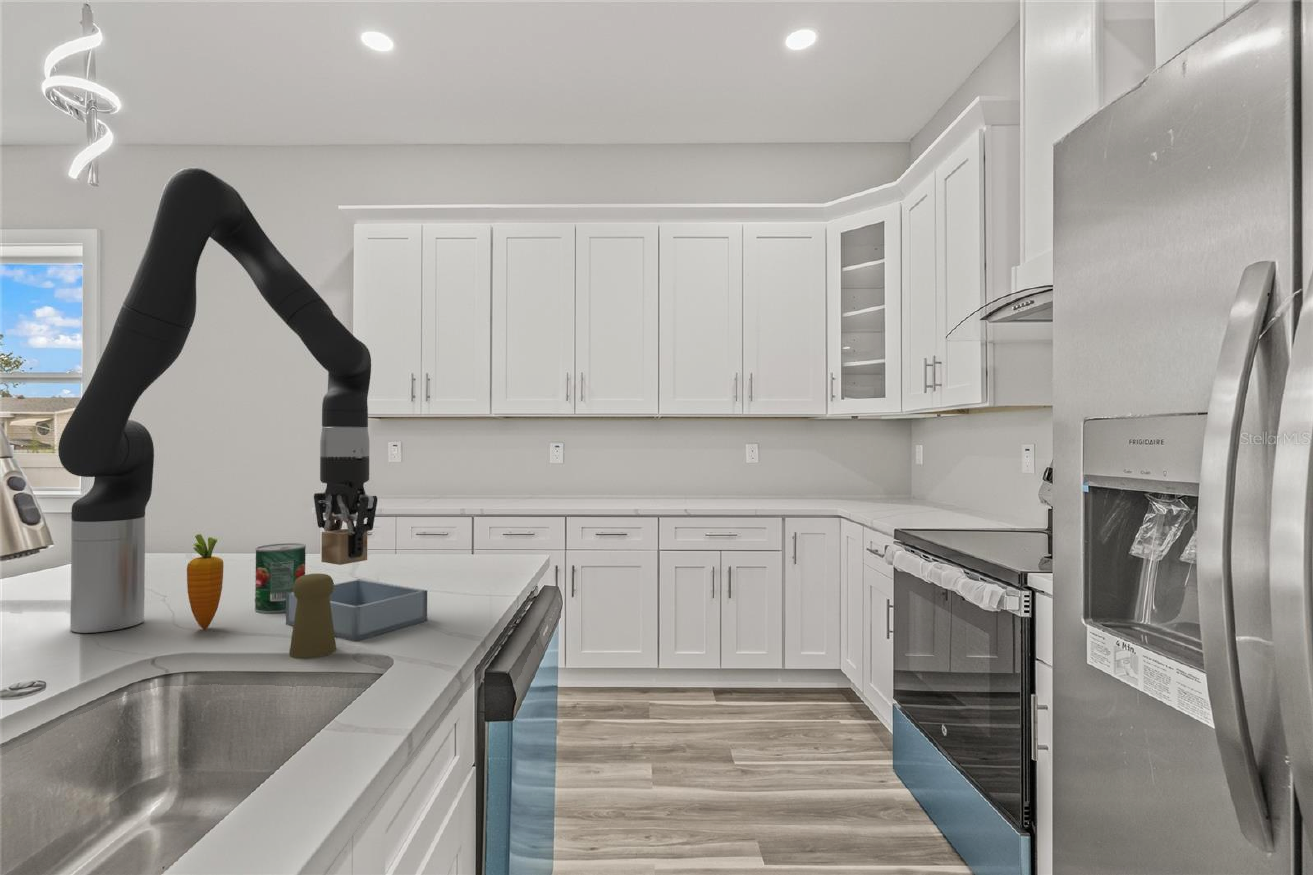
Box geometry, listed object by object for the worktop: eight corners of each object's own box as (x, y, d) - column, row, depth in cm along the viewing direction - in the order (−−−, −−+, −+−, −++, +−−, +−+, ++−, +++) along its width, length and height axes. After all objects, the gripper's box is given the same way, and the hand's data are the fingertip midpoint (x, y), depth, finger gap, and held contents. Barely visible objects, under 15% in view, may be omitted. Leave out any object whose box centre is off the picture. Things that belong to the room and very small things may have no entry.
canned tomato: (245, 609, 119) (246, 547, 119) (289, 600, 126) (290, 541, 126) (270, 615, 115) (270, 551, 115) (314, 606, 122) (315, 545, 122)
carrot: (227, 629, 107) (228, 534, 107) (190, 635, 103) (191, 537, 103) (218, 623, 110) (219, 531, 110) (182, 629, 107) (183, 534, 107)
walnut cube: (321, 562, 112) (321, 532, 112) (348, 557, 116) (348, 528, 116) (340, 564, 110) (340, 534, 110) (367, 560, 114) (367, 530, 114)
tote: (285, 624, 110) (286, 593, 110) (359, 606, 122) (359, 578, 122) (355, 641, 101) (355, 608, 101) (427, 620, 113) (427, 590, 113)
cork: (316, 660, 93) (317, 580, 93) (278, 656, 94) (279, 577, 94) (345, 646, 98) (346, 571, 98) (309, 644, 100) (310, 569, 100)
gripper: (298, 454, 113) (297, 555, 113) (352, 455, 106) (352, 563, 106) (338, 453, 120) (338, 548, 120) (392, 454, 113) (392, 556, 113)
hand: (344, 555), depth 113 cm, fingers closed on walnut cube, 5 cm apart
